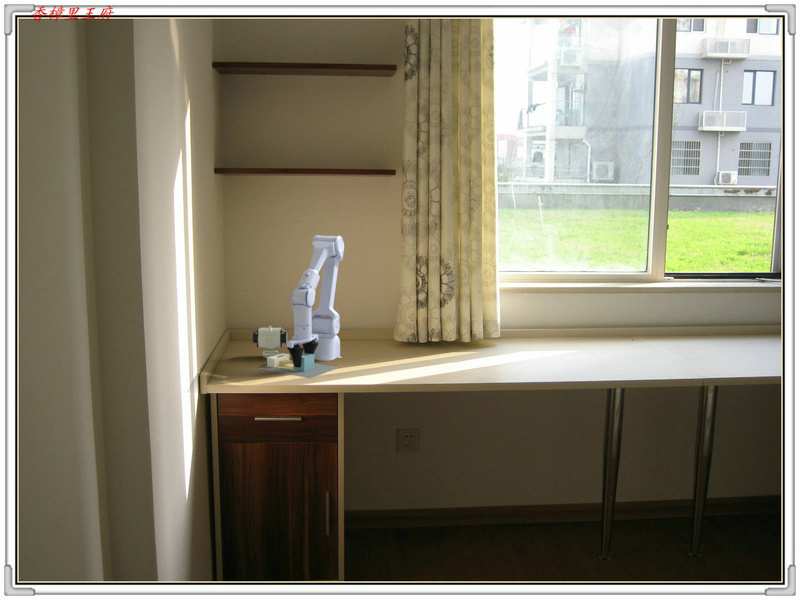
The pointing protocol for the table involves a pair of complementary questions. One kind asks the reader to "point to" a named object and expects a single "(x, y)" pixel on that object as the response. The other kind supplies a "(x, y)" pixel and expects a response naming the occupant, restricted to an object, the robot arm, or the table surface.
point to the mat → (310, 373)
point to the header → (278, 360)
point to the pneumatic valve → (270, 339)
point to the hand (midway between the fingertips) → (303, 365)
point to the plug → (306, 362)
